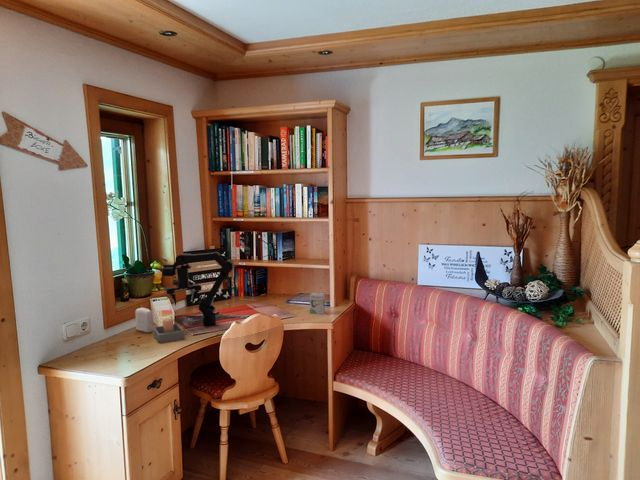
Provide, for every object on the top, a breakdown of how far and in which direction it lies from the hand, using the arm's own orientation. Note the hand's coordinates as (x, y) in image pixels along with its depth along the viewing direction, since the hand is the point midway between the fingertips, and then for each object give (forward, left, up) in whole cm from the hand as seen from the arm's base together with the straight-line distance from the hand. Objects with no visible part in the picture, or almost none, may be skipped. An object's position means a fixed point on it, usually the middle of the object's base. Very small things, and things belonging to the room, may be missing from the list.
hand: (184, 304), depth 257 cm
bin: (+12, +15, -12) cm, 23 cm away
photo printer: (+21, -2, -12) cm, 24 cm away
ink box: (-75, +17, -12) cm, 78 cm away
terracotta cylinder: (+12, +15, -11) cm, 22 cm away
